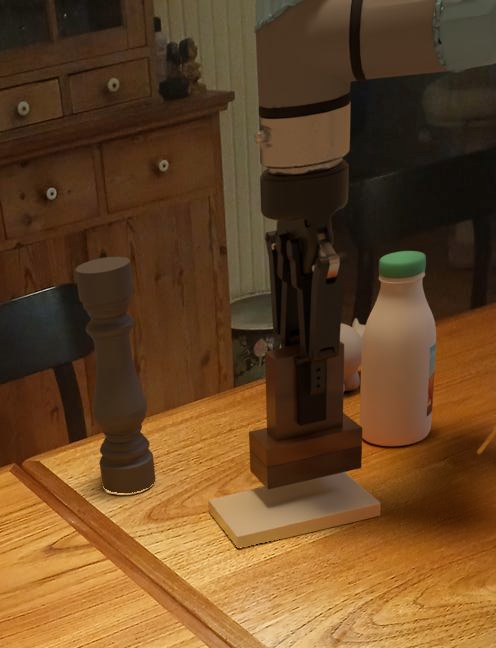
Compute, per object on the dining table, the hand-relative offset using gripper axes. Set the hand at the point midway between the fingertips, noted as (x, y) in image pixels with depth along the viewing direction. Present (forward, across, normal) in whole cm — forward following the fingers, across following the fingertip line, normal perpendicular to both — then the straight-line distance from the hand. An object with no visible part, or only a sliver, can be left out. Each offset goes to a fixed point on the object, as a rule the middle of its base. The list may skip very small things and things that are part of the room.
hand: (304, 415), depth 99 cm
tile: (+10, +2, -2) cm, 10 cm away
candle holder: (+10, -13, -16) cm, 23 cm away
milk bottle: (+10, -10, +15) cm, 21 cm away
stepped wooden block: (+6, 0, 0) cm, 6 cm away
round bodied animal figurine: (+10, -27, +17) cm, 34 cm away
